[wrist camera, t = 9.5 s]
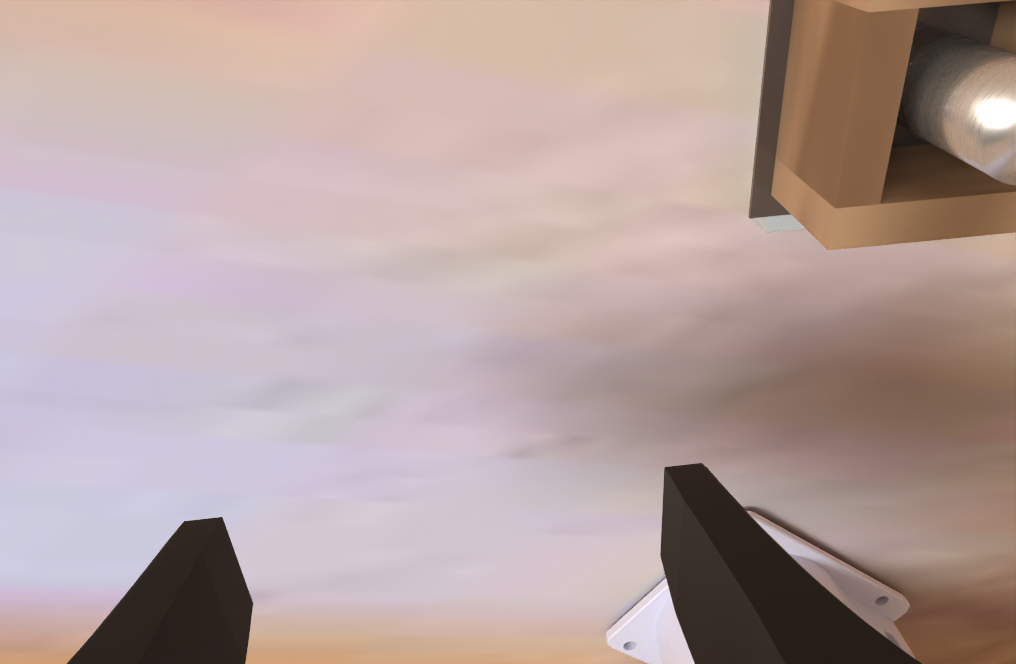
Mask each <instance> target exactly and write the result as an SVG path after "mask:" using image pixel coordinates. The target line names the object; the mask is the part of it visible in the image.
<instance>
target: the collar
mask: <svg viewBox="0 0 1016 664" xmlns="http://www.w3.org/2000/svg"><path fill="white" fill-rule="evenodd" d="M999 1H1001V2H1000V6H999V10H998V14H997V18H996V22H995V26H994V30H993V34H992V38H991V42H990V45H992V46H995V47H998V48H1001V49H1004V50H1008V51H1011V52H1014V53H1016V0H795V2H794V10H793V18H792V26H791V35H790V43H789V51H788V60H787V68H786V76H785V84H784V93H783V101H782V109H781V118H780V126H779V134H778V142H777V151H776V159H775V167H774V176H773V184H772V192H771V195H772V196H773V197H774V198H775V199H776V200H777V201H778V202H779V203H780V204H781V205H782V206H783V207H784V208H785V209H786V210H787V211H788V212H789V213H790V214H791V215H792V216H793V217H794V218H795V219H796V220H798V221H799V222H800V223H801V224H802V225H803V226H804V227H805V228H806V229H807V230H808V231H809V232H810V233H811V234H812V235H813V236H814V237H815V238H816V239H817V240H818V241H819V242H820V243H821V244H822V245H823V246H824V247H825V248H827V249H828V250H836V249H846V248H857V247H867V246H877V245H888V244H898V243H909V242H919V241H929V240H940V239H950V238H961V237H971V236H981V235H992V234H1002V233H1013V232H1016V185H1009V184H1006V183H1003V182H1000V181H998V180H996V179H994V178H993V177H991V176H989V175H987V174H986V173H984V172H982V171H980V170H978V169H977V168H975V167H973V166H971V165H969V164H968V163H966V162H964V161H962V160H960V159H959V158H957V157H955V156H953V155H951V154H950V153H948V152H946V151H944V150H942V149H941V148H939V147H937V146H935V145H933V144H924V145H913V146H902V147H892V142H893V137H894V132H895V127H896V122H897V117H898V112H899V107H900V102H901V97H902V92H903V87H904V82H905V77H906V72H907V67H908V62H909V57H910V52H911V47H912V42H913V37H914V32H915V27H916V21H917V16H918V11H919V8H927V7H939V6H951V5H963V4H975V3H987V2H999Z"/></svg>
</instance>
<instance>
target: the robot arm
mask: <svg viewBox="0 0 1016 664" xmlns="http://www.w3.org/2000/svg"><path fill="white" fill-rule="evenodd" d="M661 559H662V563H663V567H664V571H665V575H666V578H665V579H664V580H663V581H662V582H661V583H660V584H659V585H657V586H656V587H655V588H654V589H653V590H652V591H651V592H650V593H649V594H648V595H646V596H645V597H644V598H643V599H642V600H641V601H640V602H639V603H638V604H637V605H635V606H634V607H633V608H632V609H631V610H630V611H629V612H628V613H627V614H626V615H624V616H623V617H622V618H621V619H620V620H619V621H618V622H617V623H616V624H615V625H613V626H612V627H611V628H610V629H609V630H608V631H607V633H606V640H607V643H608V645H609V646H610V647H611V648H613V649H615V650H618V651H620V652H623V653H625V654H627V655H630V656H632V657H634V658H637V659H639V660H642V661H644V662H646V663H649V664H921V663H920V662H919V661H917V660H916V658H915V656H914V655H913V653H912V651H911V650H910V648H909V646H908V645H907V643H906V642H905V640H904V638H903V637H902V635H901V633H900V632H899V630H898V629H897V627H896V625H895V624H894V621H896V620H897V619H898V618H900V617H901V616H902V615H904V614H905V613H906V612H907V611H908V609H909V607H910V604H909V602H908V601H907V599H906V597H905V596H904V595H902V594H900V593H899V592H897V591H895V590H893V589H891V588H890V587H888V586H886V585H884V584H882V583H881V582H879V581H877V580H875V579H873V578H872V577H870V576H868V575H866V574H864V573H863V572H861V571H859V570H857V569H855V568H854V567H852V566H850V565H848V564H846V563H845V562H843V561H841V560H839V559H837V558H836V557H834V556H832V555H830V554H828V553H827V552H825V551H823V550H821V549H819V548H818V547H816V546H814V545H812V544H810V543H809V542H807V541H805V540H803V539H801V538H800V537H798V536H796V535H794V534H792V533H791V532H789V531H787V530H785V529H783V528H782V527H780V526H778V525H776V524H774V523H773V522H771V521H769V520H767V519H765V518H764V517H762V516H760V515H758V514H756V513H755V512H752V511H746V510H745V509H744V508H743V507H742V506H741V505H740V504H739V503H738V502H737V501H736V499H735V498H734V497H733V496H732V495H731V494H730V493H729V492H728V491H727V490H726V489H725V487H724V486H723V485H722V484H721V483H720V482H719V481H718V480H717V478H716V477H715V476H714V475H713V474H712V473H711V472H710V471H709V469H708V468H707V467H705V466H704V465H703V464H702V463H699V464H690V465H681V466H672V467H665V471H664V492H663V513H662V534H661ZM252 606H253V602H252V599H251V596H250V594H249V591H248V588H247V585H246V582H245V580H244V577H243V574H242V571H241V568H240V566H239V563H238V560H237V557H236V554H235V552H234V549H233V546H232V543H231V540H230V537H229V535H228V532H227V529H226V526H225V523H224V521H223V518H222V517H219V518H210V519H201V520H193V521H184V522H183V523H182V525H181V526H180V527H179V528H178V529H177V531H176V532H175V533H174V534H173V535H172V537H171V538H170V539H169V540H168V542H167V543H166V544H165V545H164V547H163V548H162V549H161V550H160V552H159V553H158V554H157V556H156V557H155V558H154V559H153V561H152V562H151V563H150V564H149V566H148V567H147V568H146V569H145V571H144V572H143V573H142V575H141V576H140V577H139V578H138V580H137V581H136V582H135V583H134V585H133V586H132V587H131V588H130V590H129V591H128V592H127V593H126V595H125V596H124V597H123V598H122V599H121V601H120V602H119V603H118V604H117V606H116V607H115V608H114V609H113V610H112V612H111V613H110V614H109V615H108V616H107V618H106V619H105V620H104V621H103V622H102V624H101V625H100V626H99V627H98V629H97V630H96V631H95V632H94V633H93V635H92V636H91V637H90V638H89V639H88V640H87V642H86V643H85V644H84V645H83V646H82V647H81V648H80V650H79V651H78V652H77V653H76V654H75V655H74V656H73V657H72V658H71V660H70V661H69V662H68V663H67V664H245V661H246V654H247V647H248V640H249V632H250V624H251V615H252Z"/></svg>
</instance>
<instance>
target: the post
mask: <svg viewBox="0 0 1016 664" xmlns="http://www.w3.org/2000/svg"><path fill="white" fill-rule="evenodd" d="M794 2H795V0H770V6H769V17H768V27H767V37H766V47H765V57H764V67H763V77H762V87H761V97H760V107H759V117H758V127H757V137H756V147H755V157H754V167H753V177H752V188H751V198H750V208H749V218H760V217H770V216H780V215H790V213H789V212H788V211H787V210H786V209H785V208H784V207H783V206H782V205H781V204H780V203H779V202H778V201H777V200H776V199H775V198H774V197H773V196H772V195H771V192H772V184H773V176H774V167H775V159H776V151H777V142H778V134H779V126H780V118H781V109H782V101H783V93H784V84H785V76H786V68H787V60H788V51H789V43H790V35H791V26H792V18H793V10H794ZM1000 2H1001V1H999V2H987V3H975V4H963V5H951V6H939V7H927V8H919V11H918V16H917V21H916V27H915V32H914V37H913V42H912V47H911V52H910V57H909V62H908V67H907V72H906V77H905V82H904V87H903V92H902V97H901V102H900V107H899V112H898V117H897V122H896V127H895V132H894V137H893V142H892V147H902V146H913V145H924V144H933V145H935V146H937V147H939V148H941V149H942V150H944V151H946V152H948V153H950V154H951V155H953V156H955V157H957V158H959V159H960V160H962V161H964V162H966V163H968V164H969V165H971V166H973V167H975V168H977V169H978V170H980V171H982V172H984V173H986V174H987V175H989V176H991V177H993V178H994V179H996V180H998V181H1000V182H1003V183H1006V184H1009V185H1016V53H1014V52H1011V51H1008V50H1004V49H1001V48H998V47H995V46H992V45H990V42H991V38H992V34H993V30H994V26H995V22H996V18H997V14H998V10H999V6H1000Z"/></svg>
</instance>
